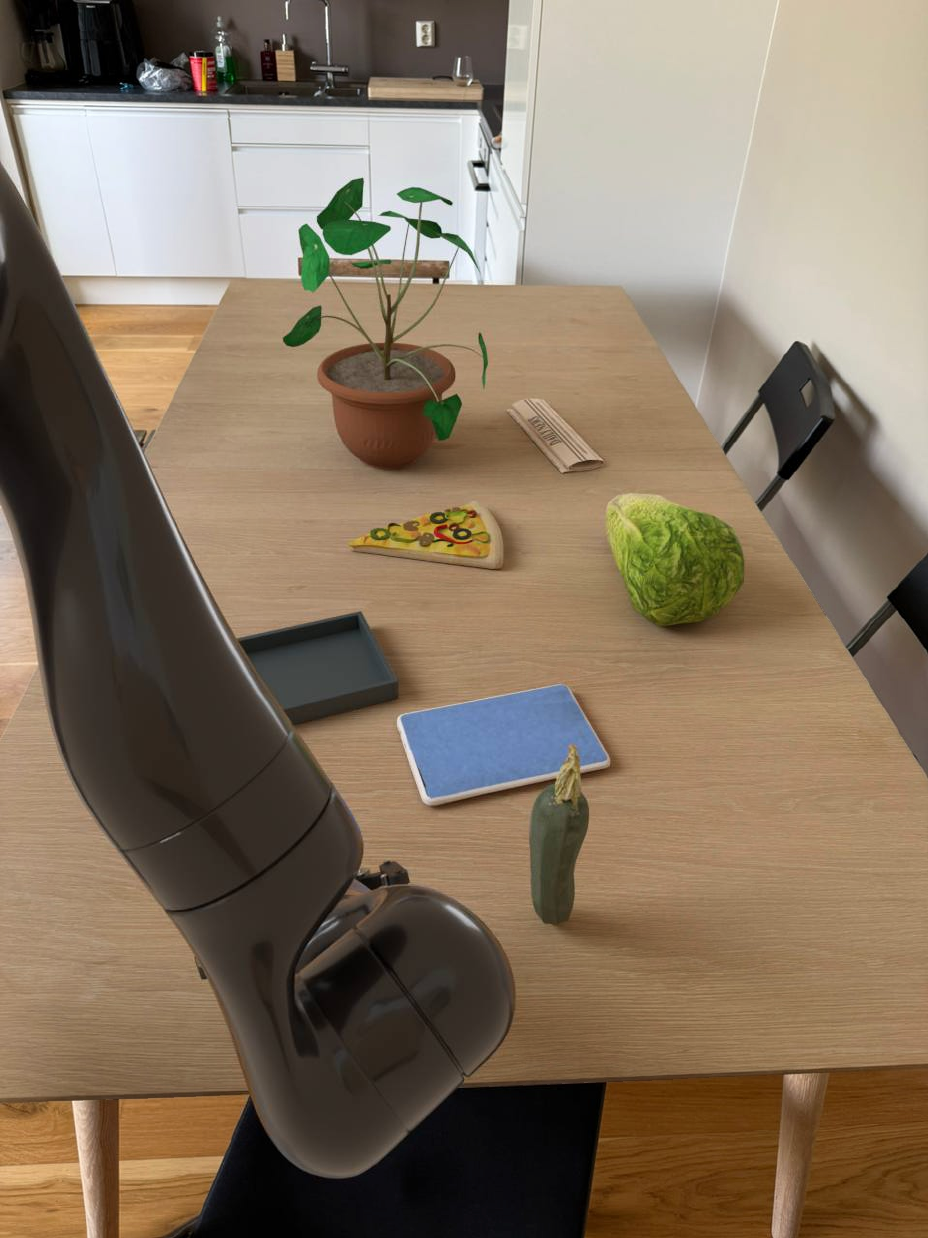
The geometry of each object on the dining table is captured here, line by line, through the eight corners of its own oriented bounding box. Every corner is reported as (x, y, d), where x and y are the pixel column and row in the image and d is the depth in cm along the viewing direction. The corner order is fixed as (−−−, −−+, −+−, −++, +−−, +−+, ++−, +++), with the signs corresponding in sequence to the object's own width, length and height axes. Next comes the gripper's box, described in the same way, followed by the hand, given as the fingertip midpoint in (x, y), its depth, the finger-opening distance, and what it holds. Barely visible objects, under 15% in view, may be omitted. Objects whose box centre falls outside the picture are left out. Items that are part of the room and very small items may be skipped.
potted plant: (518, 473, 137) (538, 195, 113) (336, 506, 128) (316, 211, 103) (445, 395, 159) (449, 149, 135) (286, 418, 150) (259, 158, 126)
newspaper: (603, 467, 139) (604, 457, 138) (561, 473, 137) (562, 463, 136) (543, 406, 157) (544, 396, 155) (506, 410, 155) (506, 401, 154)
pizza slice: (512, 569, 116) (514, 550, 114) (354, 583, 113) (352, 564, 111) (487, 509, 128) (488, 491, 126) (343, 520, 125) (342, 501, 123)
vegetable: (555, 955, 72) (582, 789, 60) (509, 929, 74) (526, 763, 62) (579, 914, 75) (609, 749, 63) (534, 891, 77) (555, 726, 65)
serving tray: (239, 739, 91) (235, 721, 89) (215, 660, 100) (212, 643, 99) (398, 698, 96) (398, 681, 95) (362, 627, 106) (361, 610, 104)
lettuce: (569, 555, 124) (665, 554, 127) (634, 640, 103) (747, 636, 106) (583, 458, 118) (684, 459, 121) (656, 527, 97) (775, 526, 100)
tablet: (424, 811, 84) (424, 802, 83) (394, 721, 93) (394, 711, 92) (612, 771, 89) (614, 762, 88) (565, 689, 98) (566, 680, 97)
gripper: (425, 838, 52) (372, 821, 67) (175, 916, 47) (179, 878, 63) (457, 966, 51) (396, 919, 67) (207, 1057, 47) (203, 984, 62)
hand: (291, 899), depth 65 cm, fingers open, 8 cm apart
